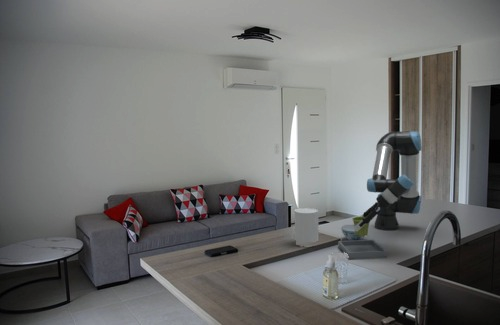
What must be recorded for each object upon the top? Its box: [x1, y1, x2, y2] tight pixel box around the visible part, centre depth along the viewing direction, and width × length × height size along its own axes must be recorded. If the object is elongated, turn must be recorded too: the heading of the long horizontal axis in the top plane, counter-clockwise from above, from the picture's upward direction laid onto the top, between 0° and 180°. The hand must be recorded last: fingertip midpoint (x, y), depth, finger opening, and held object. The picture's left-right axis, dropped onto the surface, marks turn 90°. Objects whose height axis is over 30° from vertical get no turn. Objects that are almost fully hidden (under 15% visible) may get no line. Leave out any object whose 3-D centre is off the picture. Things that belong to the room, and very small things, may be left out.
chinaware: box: [341, 224, 365, 241], centre depth 229 cm, size 15×15×8 cm
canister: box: [294, 207, 319, 243], centre depth 225 cm, size 14×14×20 cm
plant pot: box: [352, 216, 371, 237], centre depth 207 cm, size 9×9×9 cm
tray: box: [337, 239, 388, 260], centre depth 208 cm, size 20×20×4 cm
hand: (355, 227), depth 207 cm, fingers closed on plant pot, 9 cm apart
